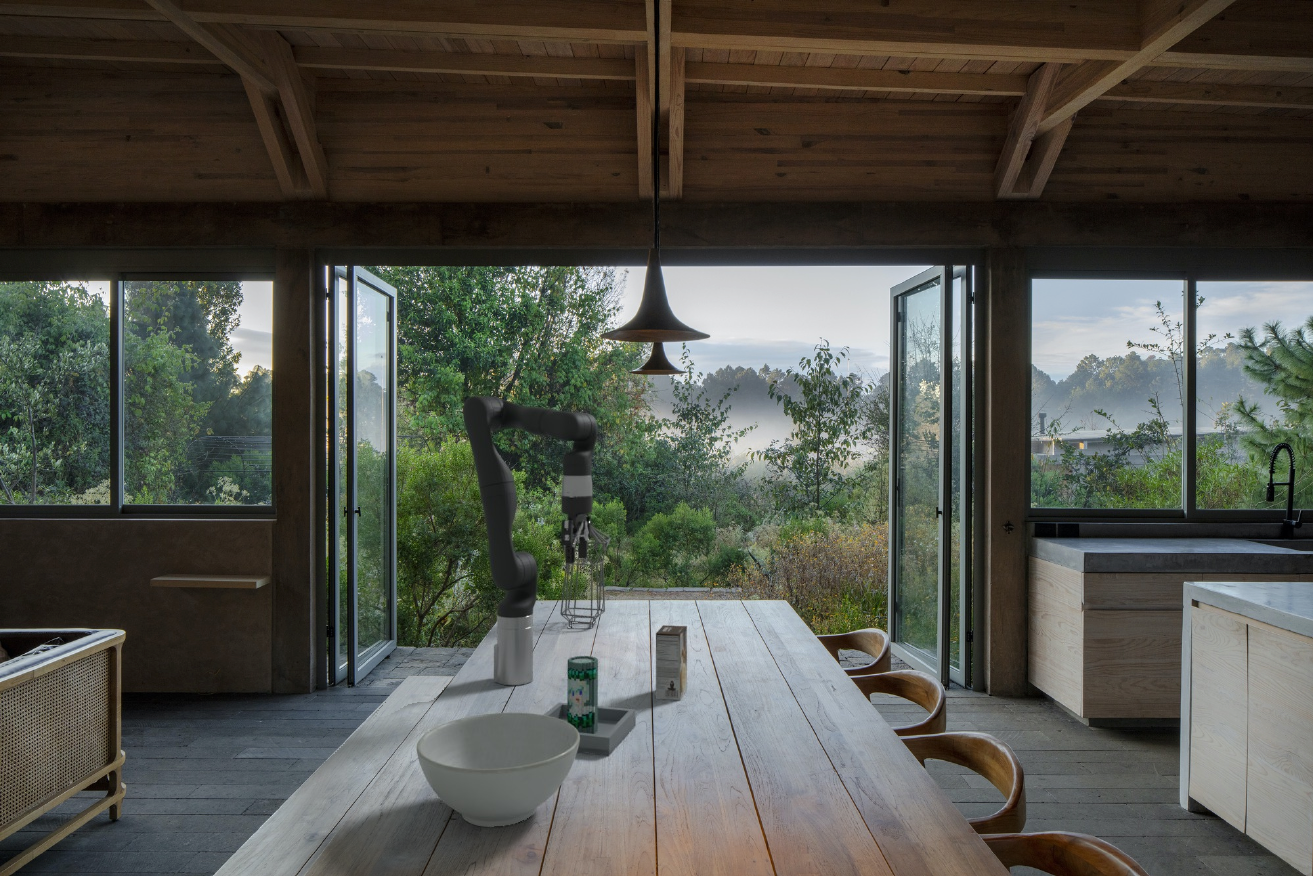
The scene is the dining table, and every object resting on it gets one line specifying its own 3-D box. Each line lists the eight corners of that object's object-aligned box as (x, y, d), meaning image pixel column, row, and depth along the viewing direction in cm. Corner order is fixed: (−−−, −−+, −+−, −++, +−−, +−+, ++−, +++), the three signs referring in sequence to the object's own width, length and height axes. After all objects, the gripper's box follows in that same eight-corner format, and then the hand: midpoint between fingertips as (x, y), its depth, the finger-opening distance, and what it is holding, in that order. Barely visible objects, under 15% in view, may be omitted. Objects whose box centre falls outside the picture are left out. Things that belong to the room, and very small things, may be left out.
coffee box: (662, 688, 207) (662, 624, 207) (687, 689, 205) (687, 625, 206) (655, 699, 198) (655, 632, 198) (681, 701, 196) (681, 633, 197)
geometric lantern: (565, 620, 286) (569, 520, 287) (610, 623, 284) (613, 522, 285) (554, 630, 271) (557, 523, 271) (600, 632, 268) (604, 525, 269)
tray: (525, 746, 166) (525, 729, 166) (558, 718, 184) (558, 702, 184) (609, 755, 162) (609, 737, 162) (635, 725, 179) (635, 709, 179)
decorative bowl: (432, 780, 149) (433, 714, 150) (580, 776, 152) (580, 710, 152) (399, 853, 123) (399, 772, 123) (578, 846, 125) (579, 767, 125)
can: (563, 734, 171) (563, 661, 171) (575, 724, 176) (575, 654, 177) (590, 737, 169) (590, 664, 169) (601, 727, 175) (601, 657, 175)
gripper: (573, 492, 208) (572, 556, 208) (551, 495, 194) (551, 563, 194) (601, 492, 206) (600, 557, 206) (581, 496, 192) (580, 565, 192)
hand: (576, 560), depth 200 cm, fingers open, 8 cm apart
